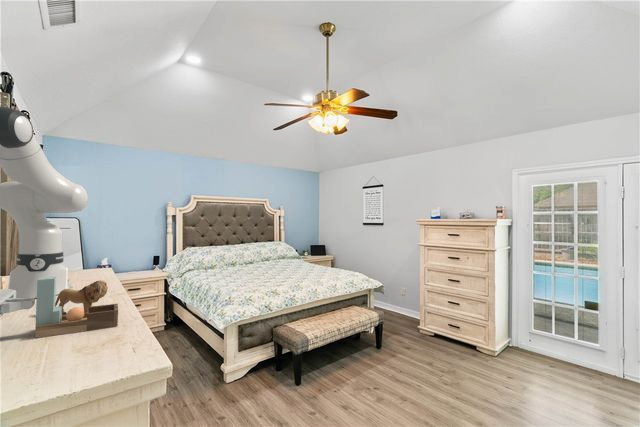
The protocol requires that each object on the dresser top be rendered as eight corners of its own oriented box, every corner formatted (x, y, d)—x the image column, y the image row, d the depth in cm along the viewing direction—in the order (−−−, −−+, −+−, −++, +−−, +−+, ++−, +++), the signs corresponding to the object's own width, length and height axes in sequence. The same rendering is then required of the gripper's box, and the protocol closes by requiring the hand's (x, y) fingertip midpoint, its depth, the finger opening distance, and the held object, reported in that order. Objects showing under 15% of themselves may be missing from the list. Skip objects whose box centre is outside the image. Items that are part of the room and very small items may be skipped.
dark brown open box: (88, 322, 80) (89, 306, 80) (117, 318, 83) (117, 303, 83) (86, 330, 74) (87, 314, 74) (117, 326, 77) (118, 310, 77)
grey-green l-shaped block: (38, 323, 73) (40, 277, 73) (61, 320, 76) (63, 275, 76) (34, 329, 70) (36, 280, 70) (58, 325, 72) (60, 278, 72)
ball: (66, 321, 76) (67, 306, 76) (84, 318, 78) (85, 305, 78) (64, 325, 73) (65, 310, 73) (83, 322, 75) (84, 308, 75)
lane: (40, 328, 74) (41, 318, 74) (88, 322, 79) (88, 312, 79) (35, 338, 69) (35, 326, 69) (86, 330, 74) (87, 320, 74)
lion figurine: (110, 308, 91) (111, 278, 92) (102, 314, 86) (103, 282, 86) (52, 311, 88) (53, 279, 88) (40, 317, 83) (41, 283, 83)
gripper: (-83, 309, 55) (23, 299, 63) (-37, 287, 72) (42, 281, 79) (-85, 345, 55) (22, 330, 62) (-38, 314, 72) (41, 305, 79)
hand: (33, 303), depth 71 cm, fingers closed
